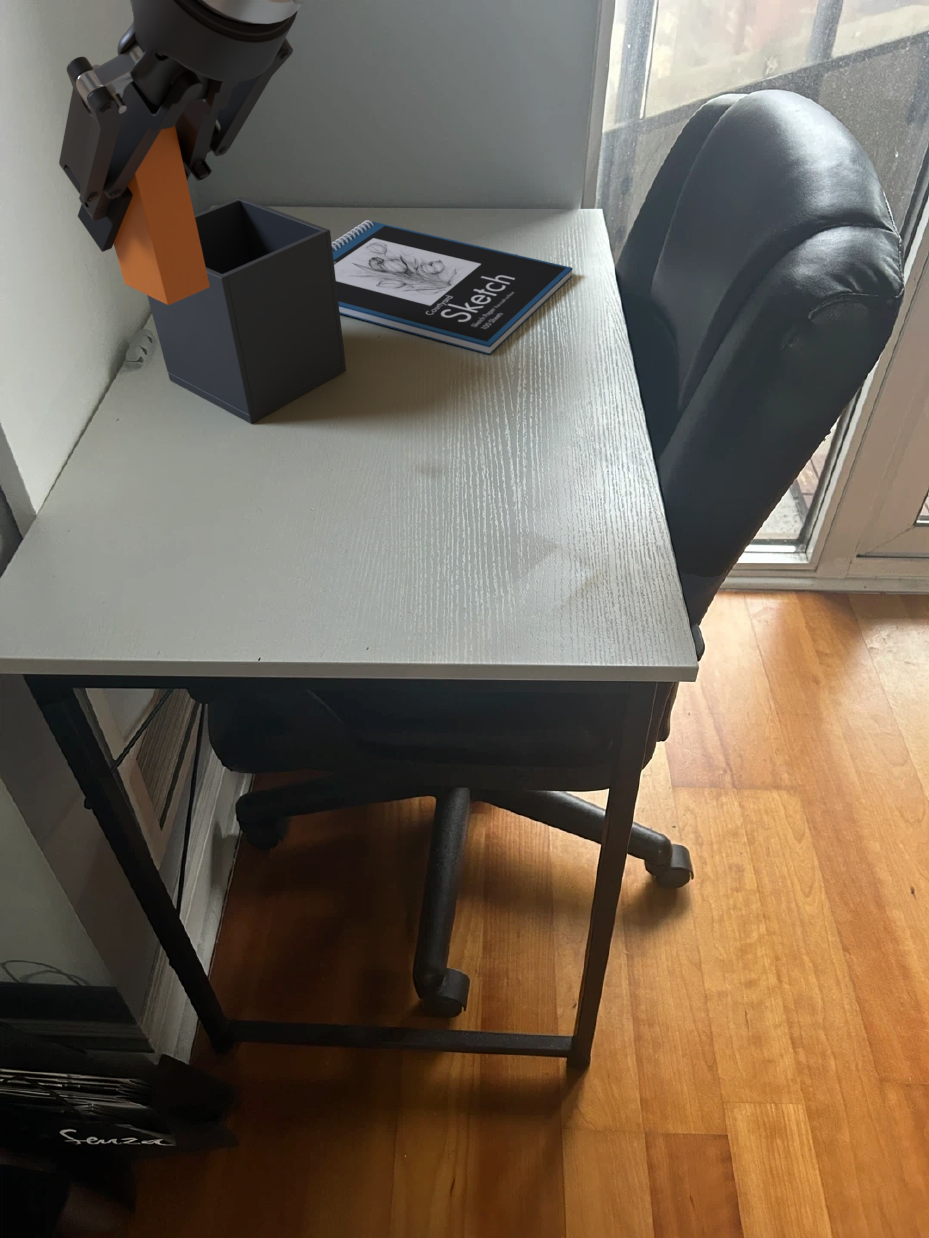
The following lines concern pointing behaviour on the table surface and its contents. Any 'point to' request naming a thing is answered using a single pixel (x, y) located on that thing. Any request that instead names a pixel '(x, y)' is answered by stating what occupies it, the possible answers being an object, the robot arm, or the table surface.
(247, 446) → the table surface
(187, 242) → the block
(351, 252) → the sketchbook
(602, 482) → the table surface
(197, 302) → the bin
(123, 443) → the table surface
